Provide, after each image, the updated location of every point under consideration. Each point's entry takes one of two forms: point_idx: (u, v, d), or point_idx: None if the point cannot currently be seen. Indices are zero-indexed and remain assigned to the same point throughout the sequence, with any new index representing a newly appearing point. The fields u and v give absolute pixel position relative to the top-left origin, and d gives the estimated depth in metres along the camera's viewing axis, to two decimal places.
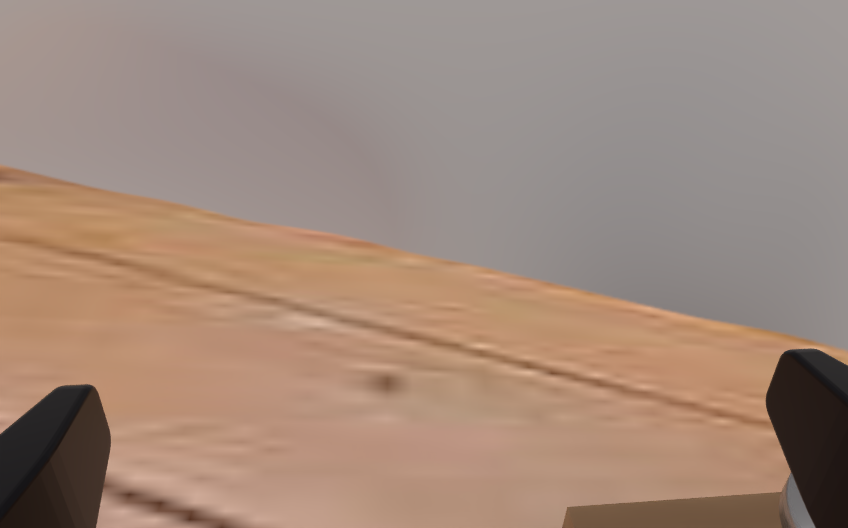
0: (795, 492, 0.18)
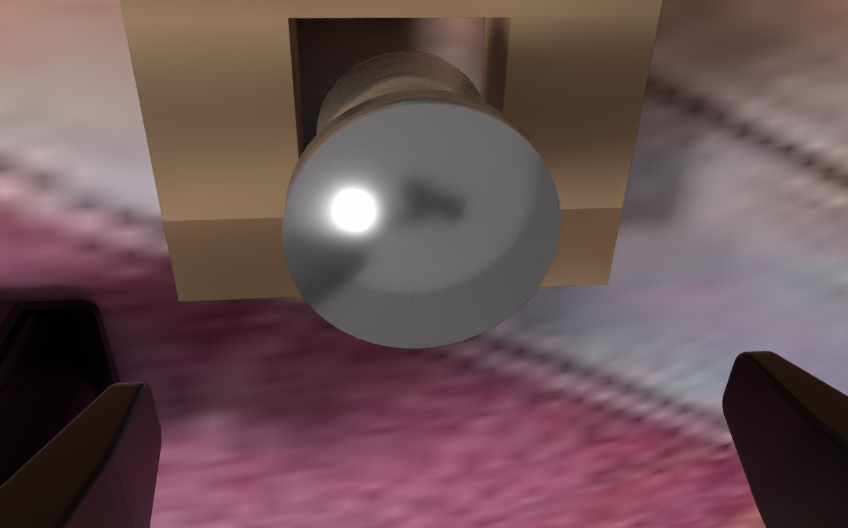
0: None
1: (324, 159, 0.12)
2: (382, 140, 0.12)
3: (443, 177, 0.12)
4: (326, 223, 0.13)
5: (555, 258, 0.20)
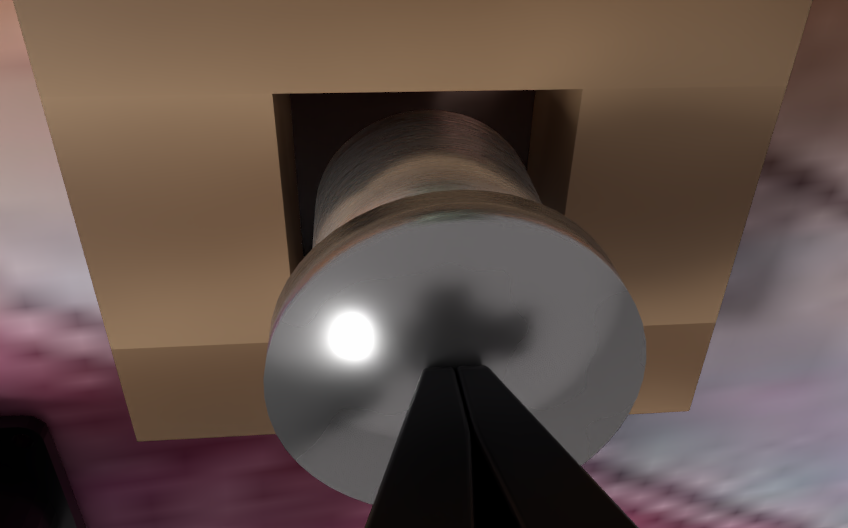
0: None
1: (321, 293, 0.09)
2: (403, 268, 0.08)
3: (487, 313, 0.09)
4: (324, 372, 0.09)
5: None
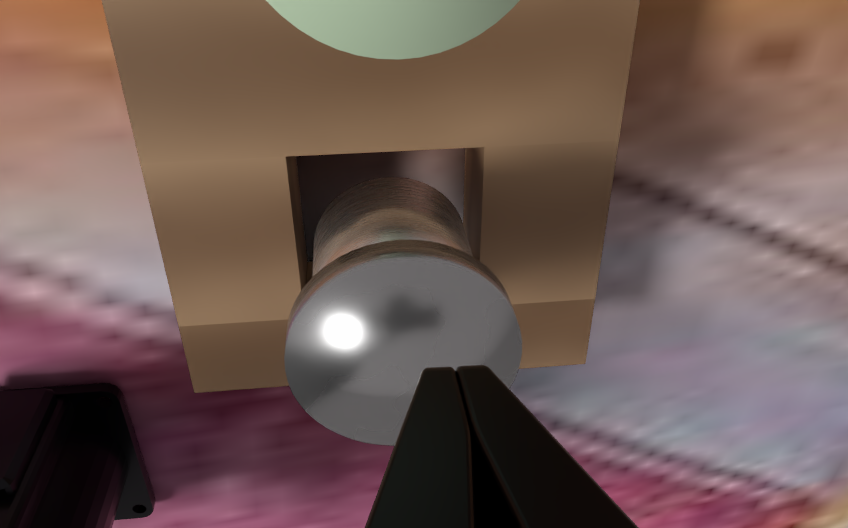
0: None
1: (318, 304, 0.14)
2: (366, 288, 0.14)
3: (419, 313, 0.15)
4: (321, 352, 0.15)
5: (535, 344, 0.22)
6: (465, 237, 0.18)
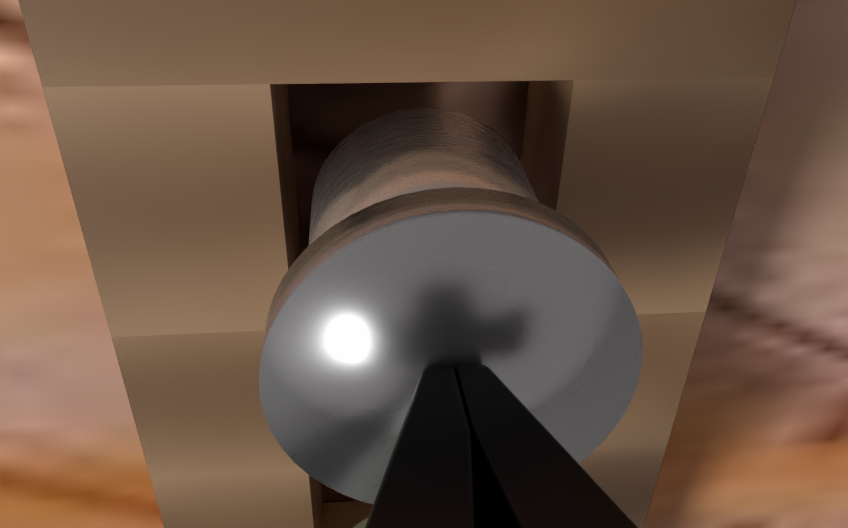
0: (285, 330, 0.09)
1: None
2: None
3: None
4: None
5: None
6: None
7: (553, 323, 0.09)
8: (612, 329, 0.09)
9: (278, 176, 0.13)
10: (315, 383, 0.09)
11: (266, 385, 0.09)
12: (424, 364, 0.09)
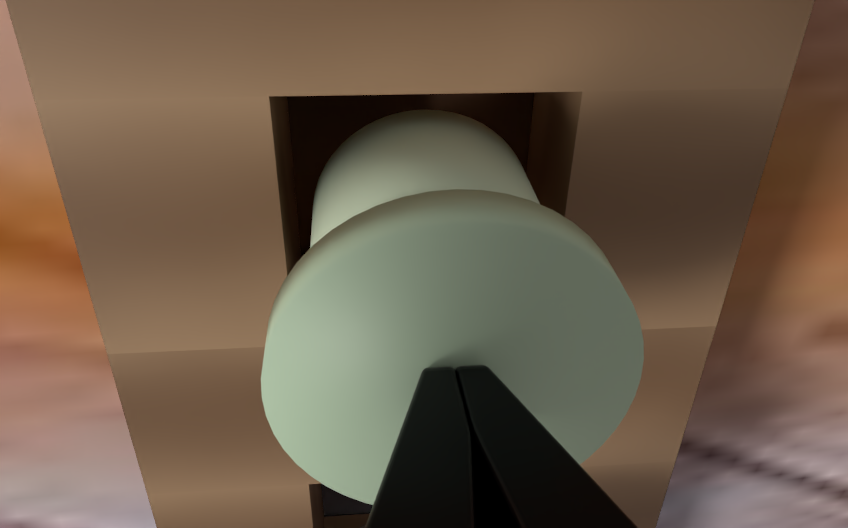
0: None
1: None
2: None
3: None
4: None
5: None
6: None
7: None
8: None
9: None
10: None
11: None
12: None
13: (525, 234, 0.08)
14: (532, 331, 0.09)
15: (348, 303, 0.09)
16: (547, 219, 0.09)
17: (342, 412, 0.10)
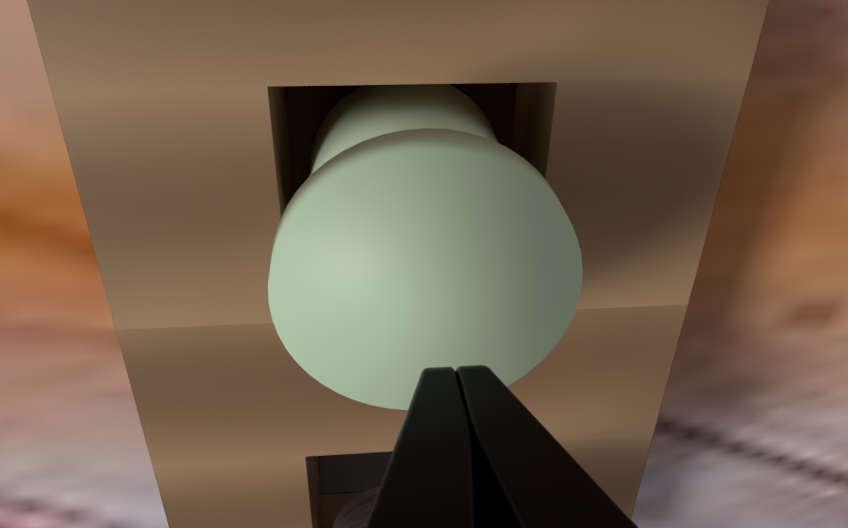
0: None
1: None
2: None
3: None
4: None
5: None
6: None
7: None
8: None
9: None
10: None
11: None
12: None
13: (480, 161, 0.10)
14: (489, 245, 0.11)
15: (339, 219, 0.11)
16: (500, 151, 0.11)
17: (334, 316, 0.12)
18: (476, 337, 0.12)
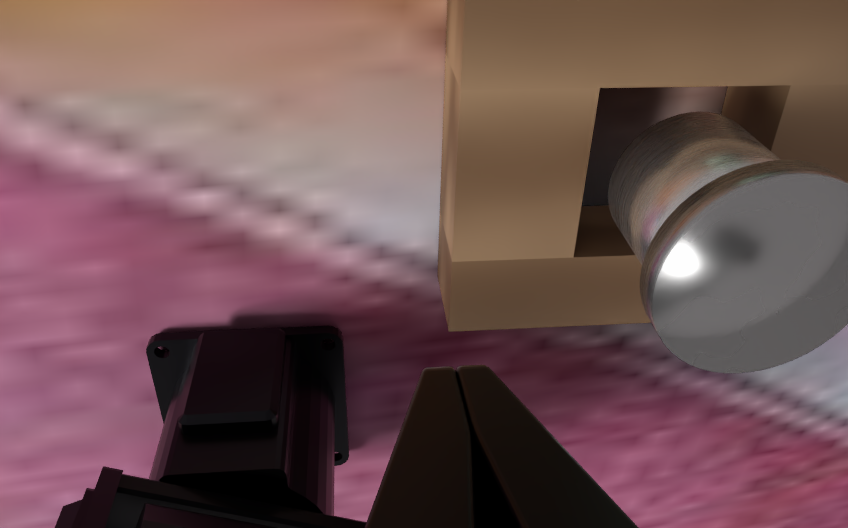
0: None
1: (709, 220, 0.14)
2: (760, 205, 0.14)
3: (800, 233, 0.15)
4: (695, 271, 0.15)
5: None
6: None
7: None
8: None
9: None
10: None
11: None
12: None
13: None
14: None
15: None
16: None
17: None
18: None
